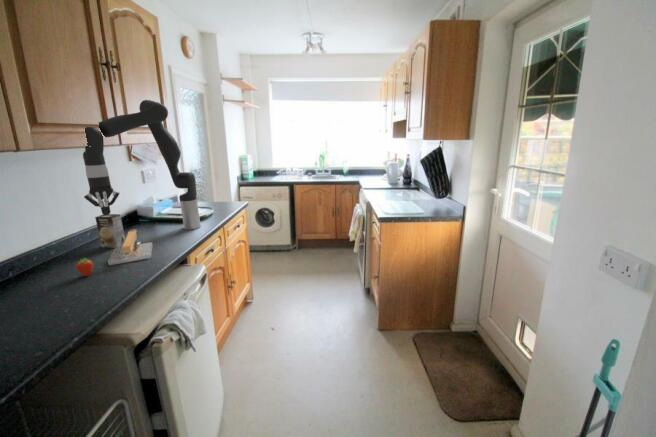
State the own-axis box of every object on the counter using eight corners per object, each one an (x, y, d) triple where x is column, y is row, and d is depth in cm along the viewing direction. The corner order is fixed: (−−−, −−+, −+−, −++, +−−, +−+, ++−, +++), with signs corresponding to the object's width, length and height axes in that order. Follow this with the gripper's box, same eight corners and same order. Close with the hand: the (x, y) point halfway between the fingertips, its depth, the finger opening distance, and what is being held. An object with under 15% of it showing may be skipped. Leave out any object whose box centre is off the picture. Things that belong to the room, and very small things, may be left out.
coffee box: (101, 247, 156) (93, 217, 152) (110, 243, 162) (104, 213, 158) (117, 247, 155) (111, 217, 151) (127, 243, 161) (120, 213, 157)
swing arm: (130, 235, 158) (129, 229, 157) (138, 234, 160) (137, 228, 159) (122, 253, 134) (121, 247, 133) (132, 252, 135) (130, 245, 135)
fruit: (76, 279, 122) (71, 260, 120) (83, 273, 127) (79, 255, 125) (91, 277, 123) (87, 259, 121) (98, 272, 128) (93, 254, 126)
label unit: (115, 251, 150) (114, 247, 149) (152, 245, 157) (151, 241, 156) (108, 265, 135) (107, 260, 134) (150, 258, 141) (149, 253, 141)
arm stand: (130, 244, 160) (128, 236, 159) (141, 242, 162) (140, 234, 161) (129, 247, 155) (127, 239, 154) (140, 245, 158) (139, 237, 156)
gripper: (117, 173, 137) (125, 211, 142) (81, 175, 131) (90, 214, 136) (115, 175, 130) (123, 214, 135) (76, 178, 125) (86, 219, 130)
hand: (106, 214), depth 136 cm, fingers closed
